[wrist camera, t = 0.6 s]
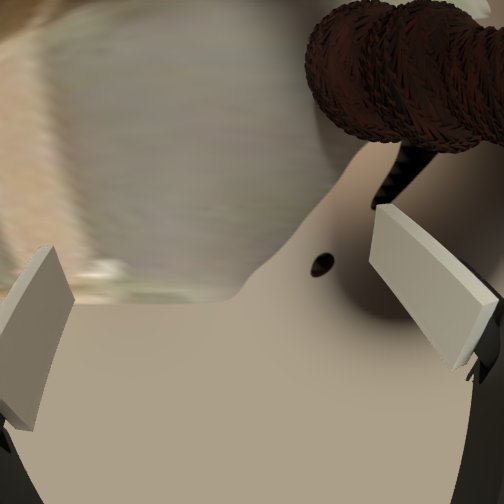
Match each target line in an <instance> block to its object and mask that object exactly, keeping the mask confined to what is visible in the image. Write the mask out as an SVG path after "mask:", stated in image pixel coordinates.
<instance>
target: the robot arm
mask: <svg viewBox="0 0 504 504" xmlns="http://www.w3.org/2000/svg"><path fill="white" fill-rule="evenodd" d="M369 262H370V263H371V265H372V266H373V267H374V269H375V270H376V271H377V272H378V274H380V276H381V277H382V279H383V280H384V281H385V282H386V284H387V285H388V286H389V287H390V289H391V290H392V291H393V293H394V294H395V295H396V297H397V298H398V299H399V301H400V302H401V303H402V304H403V306H404V307H405V308H406V310H407V311H408V312H409V314H410V315H411V316H412V318H413V319H414V321H415V322H416V323H417V325H418V326H419V327H420V329H421V330H422V331H423V333H424V334H425V336H426V337H427V338H428V340H429V341H430V343H431V344H432V346H433V347H434V348H435V350H436V351H437V353H438V354H439V356H440V357H441V358H442V360H443V361H444V363H445V364H446V366H447V367H448V369H449V370H450V371H452V370H454V369H457V368H459V367H461V366H464V365H465V364H467V362H468V361H469V359H470V357H471V355H472V353H473V352H475V354H476V355H477V356H478V359H477V361H476V362H475V364H474V366H473V367H472V369H471V371H470V372H469V374H468V376H467V378H466V381H469V379H470V378H471V376H472V375H473V374H474V380H473V381H472V382H473V391H472V400H471V408H470V416H469V422H468V429H467V435H466V440H465V446H464V451H463V456H462V460H461V465H460V469H459V473H458V477H457V482H456V485H455V489H454V492H453V496H452V499H451V503H450V504H504V298H503V297H502V296H501V295H500V294H499V293H497V291H496V290H495V289H494V288H493V287H492V286H491V285H490V284H489V283H488V282H487V281H485V279H482V277H481V276H480V275H479V274H478V273H476V272H475V270H474V269H473V268H472V267H471V266H470V265H469V264H467V263H466V262H465V261H463V260H461V259H459V258H458V257H456V256H453V255H452V254H451V253H450V252H449V251H448V250H447V249H446V248H444V247H443V246H442V245H441V244H440V243H439V242H437V241H436V240H435V239H434V238H433V237H432V236H431V235H430V234H428V233H427V232H426V231H425V230H424V229H423V228H421V227H420V226H419V225H418V224H417V223H415V222H414V221H413V220H412V219H410V218H409V217H408V216H407V215H406V214H404V213H403V212H402V211H401V210H399V209H398V208H397V207H396V206H394V205H393V204H380V205H377V206H376V215H375V223H374V230H373V237H372V244H371V251H370V257H369ZM74 301H75V299H74V296H73V294H72V292H71V289H70V287H69V285H68V282H67V280H66V277H65V275H64V272H63V270H62V267H61V264H60V262H59V259H58V256H57V254H56V251H55V248H54V245H52V246H46V247H40V248H38V249H37V251H36V252H35V254H34V255H33V256H32V258H31V259H30V261H29V262H28V264H27V265H26V267H25V268H24V270H23V271H22V273H21V274H20V276H19V277H18V279H17V280H16V282H15V283H14V285H13V287H12V288H11V290H10V291H9V293H8V295H7V296H6V298H5V299H4V301H3V303H2V304H1V306H0V504H44V503H43V501H42V500H41V498H40V496H39V495H38V493H37V491H36V489H35V487H34V485H33V484H32V482H31V480H30V478H29V476H28V474H27V472H26V470H25V468H24V466H23V464H22V462H21V460H20V458H19V455H18V453H17V451H16V449H15V447H14V445H13V442H12V440H11V437H10V435H9V433H8V432H7V430H6V429H5V428H4V427H3V426H4V422H5V419H6V420H7V421H8V422H9V423H10V424H11V425H12V426H13V427H14V428H15V429H18V430H25V431H33V429H34V425H35V421H36V417H37V413H38V409H39V405H40V401H41V397H42V394H43V391H44V387H45V384H46V380H47V377H48V374H49V371H50V368H51V364H52V361H53V358H54V355H55V352H56V349H57V346H58V344H59V341H60V338H61V335H62V332H63V330H64V327H65V324H66V322H67V319H68V316H69V314H70V311H71V308H72V306H73V304H74Z"/></svg>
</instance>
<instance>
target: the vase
mask: <svg viewBox="0 0 504 504" xmlns="http://www.w3.org/2000/svg"><path fill="white" fill-rule="evenodd" d="M309 42H310V43H309V44H308V45H307V52H306V54H305V61H306V62H305V70H306V79H307V81H308V86H309V88H310V90H311V91H312V92H313V97H314V100H315V102H316V103H317V104H318V105H319V107H320V109H321V110H322V111H323V112H324V113H325V114H326V116H327V117H328V118H329V119H330V120H331V121H332V122H334V123H335V125H336V126H337V127H339V128H342V129H344V131H345V132H346V133H347V134H349V135H355V136H356V137H357V138H359V139H361V140H368V141H370V142H379V141H380V142H381V143H389V142H392V143H398V142H400V141H402V140H407V141H409V142H410V143H411V144H413V145H414V146H416V145H417V146H418V147H422V149H424V150H427V151H431V150H433V151H435V152H439V153H453V154H457V153H460V152H464V151H466V150H469V149H470V148H473V147H475V146H477V145H478V144H479V143H480V142H481V141H483V140H485V139H486V141H487V140H489V141H490V142H491V143H494V144H499V145H501V146H502V145H503V146H502V147H504V27H502V28H501V29H499V30H496V29H495V28H494V26H493V27H491V26H488V27H486V28H483V26H480V25H479V24H477V22H476V21H475V20H473V19H472V17H471V16H470V15H468V13H466V12H465V11H462V10H461V9H459V8H458V7H457V8H456V7H455V6H454V4H451V3H448V4H447V3H446V1H441V2H439V1H431V0H417V1H416V0H414V1H412V2H410V3H409V2H408V3H406V4H405V5H403V4H400V5H398V6H397V8H396V6H394V5H389V4H388V3H386V2H380V1H379V0H371V1H370V0H361V2H359V1H356V2H351V3H349V4H348V5H346V4H343V5H341V6H340V7H339V8H338V10H337V9H333V10H332V11H331V13H330V15H327V16H326V17H324V18H323V19H322V20H321V22H320V24H319V23H318V24H316V26H315V28H314V32H313V33H311V35H310V37H309ZM340 48H341V49H340ZM325 51H326V52H325ZM338 52H339V53H338ZM352 72H353V73H352ZM308 79H309V80H308ZM483 86H484V89H483ZM363 100H364V101H363ZM334 103H335V104H334ZM455 114H456V115H455ZM431 133H432V134H431ZM440 133H441V134H440ZM500 135H501V137H500ZM497 142H498V143H497Z"/></svg>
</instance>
